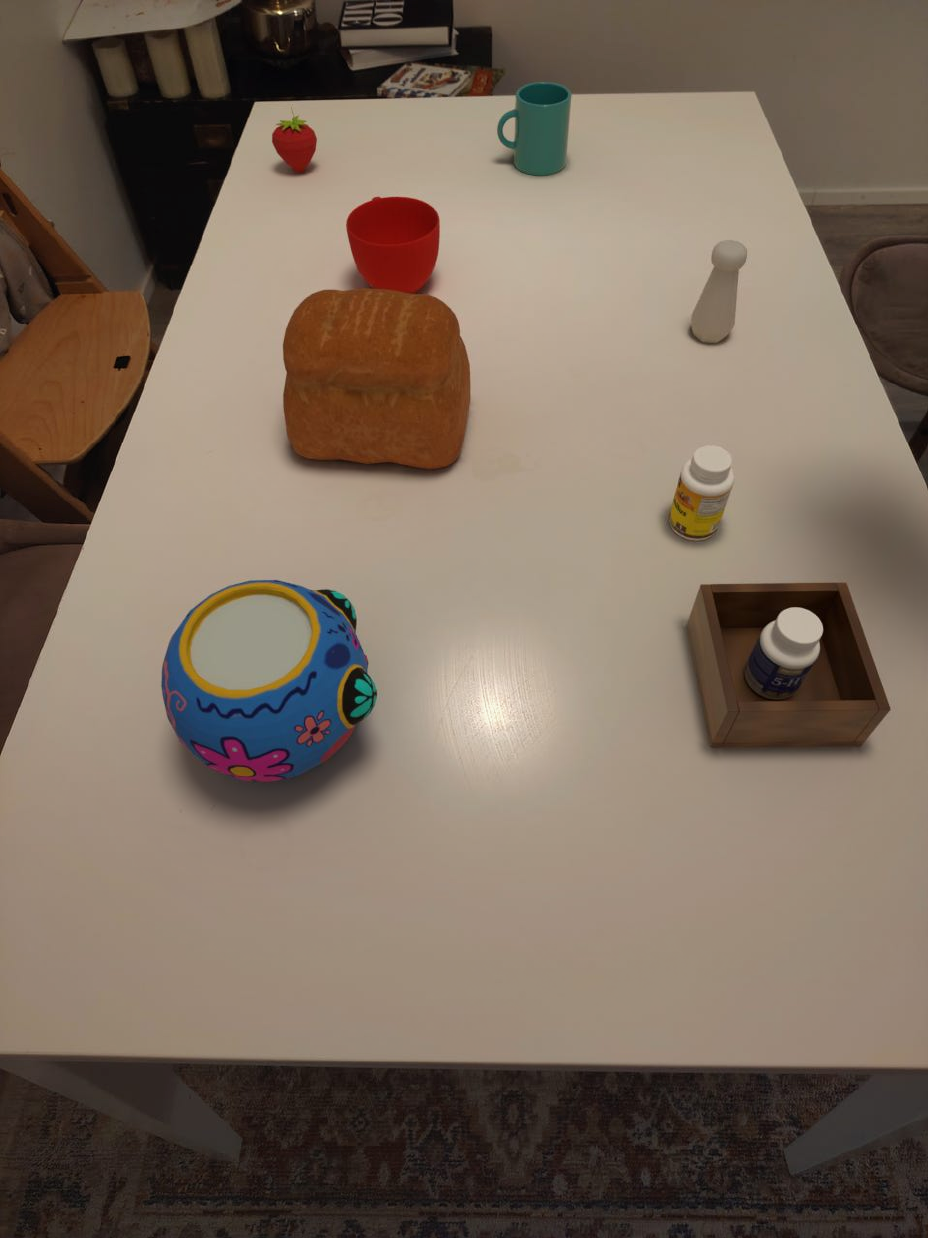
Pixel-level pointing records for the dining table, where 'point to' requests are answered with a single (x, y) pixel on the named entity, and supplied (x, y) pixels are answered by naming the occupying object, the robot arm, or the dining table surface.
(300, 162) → the strawberry
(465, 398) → the bread
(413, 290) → the ceramic cup
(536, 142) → the cup
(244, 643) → the ceramic pot
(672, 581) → the dining table surface
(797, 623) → the pill bottle
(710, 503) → the supplement bottle
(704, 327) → the salt shaker
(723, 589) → the box
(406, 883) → the dining table surface
